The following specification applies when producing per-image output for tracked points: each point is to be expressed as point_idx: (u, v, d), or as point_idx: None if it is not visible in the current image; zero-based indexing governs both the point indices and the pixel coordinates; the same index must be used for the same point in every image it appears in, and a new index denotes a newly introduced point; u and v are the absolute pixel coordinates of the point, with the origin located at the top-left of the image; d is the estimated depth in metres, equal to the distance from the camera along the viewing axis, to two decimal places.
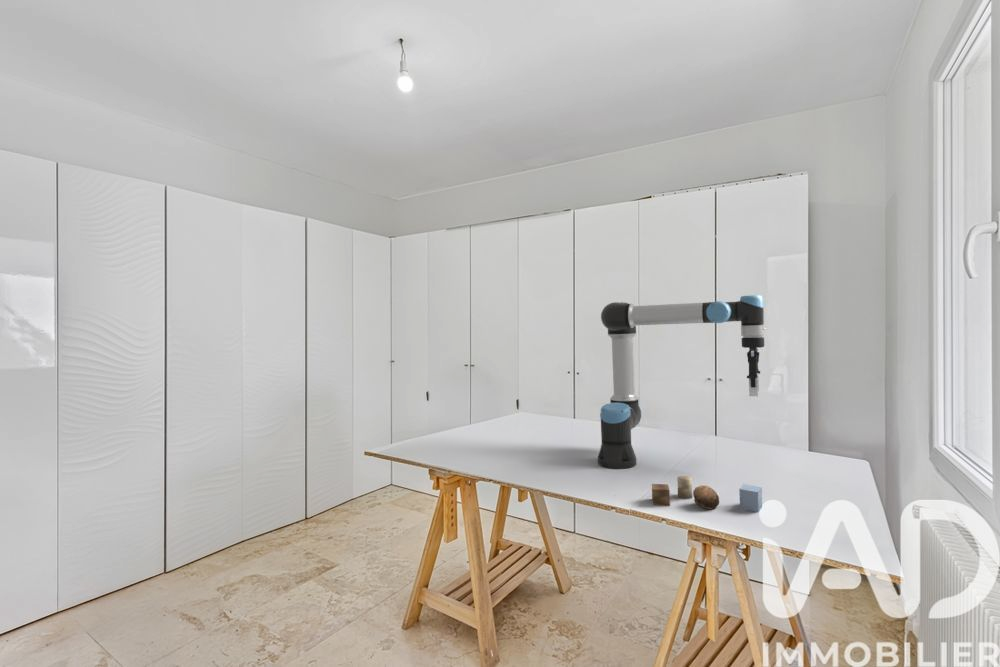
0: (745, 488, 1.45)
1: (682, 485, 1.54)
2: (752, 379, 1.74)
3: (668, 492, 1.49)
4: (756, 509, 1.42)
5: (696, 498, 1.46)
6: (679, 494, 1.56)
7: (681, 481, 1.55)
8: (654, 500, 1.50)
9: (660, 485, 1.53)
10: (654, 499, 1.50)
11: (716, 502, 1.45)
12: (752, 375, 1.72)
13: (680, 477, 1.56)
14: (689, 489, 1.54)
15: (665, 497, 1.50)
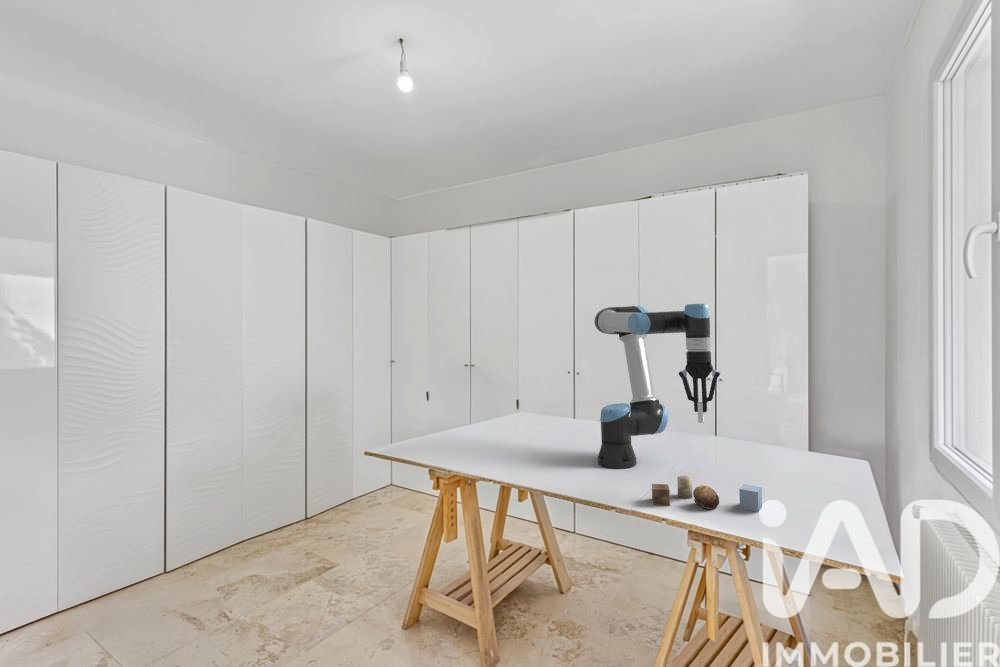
0: (745, 488, 1.45)
1: (682, 485, 1.54)
2: (694, 402, 1.61)
3: (668, 492, 1.49)
4: (756, 509, 1.42)
5: (696, 498, 1.46)
6: (679, 494, 1.56)
7: (681, 481, 1.55)
8: (654, 500, 1.50)
9: (660, 485, 1.53)
10: (654, 499, 1.50)
11: (716, 502, 1.45)
12: None
13: (680, 477, 1.56)
14: (689, 489, 1.54)
15: (665, 497, 1.50)
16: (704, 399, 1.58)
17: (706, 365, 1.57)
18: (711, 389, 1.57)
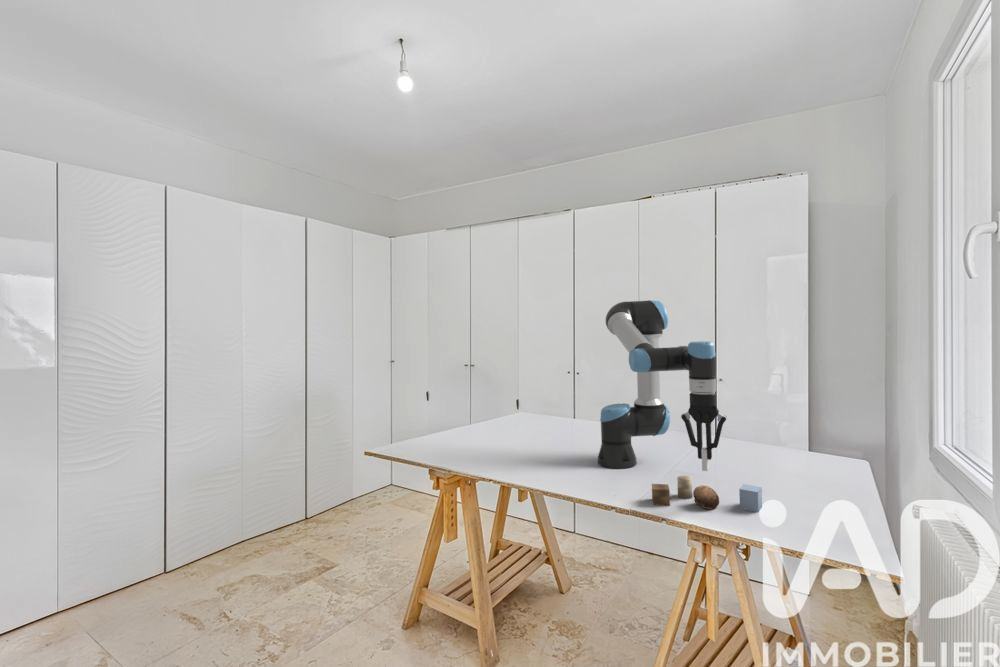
0: (745, 488, 1.45)
1: (682, 485, 1.54)
2: (697, 448, 1.48)
3: (669, 492, 1.49)
4: (756, 509, 1.42)
5: (696, 498, 1.46)
6: (679, 494, 1.56)
7: (681, 481, 1.55)
8: (654, 500, 1.50)
9: (660, 485, 1.53)
10: (654, 499, 1.50)
11: (716, 502, 1.45)
12: None
13: (680, 477, 1.56)
14: (689, 489, 1.54)
15: (665, 497, 1.50)
16: (709, 445, 1.45)
17: (711, 409, 1.45)
18: (716, 435, 1.44)
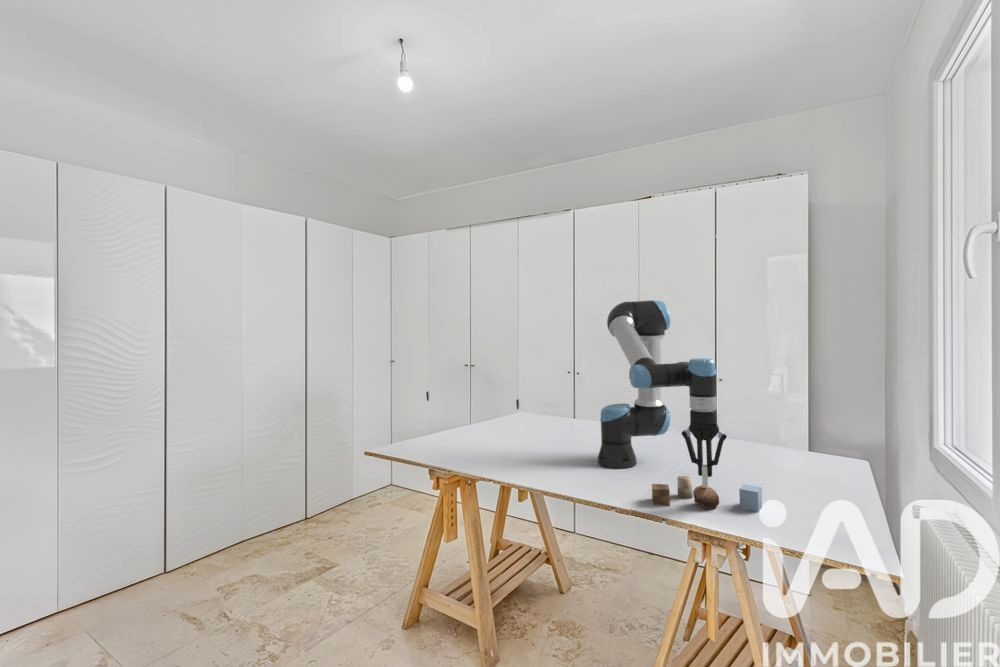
0: (745, 488, 1.45)
1: (682, 485, 1.54)
2: (698, 465, 1.48)
3: (669, 492, 1.49)
4: (756, 509, 1.42)
5: (696, 498, 1.46)
6: (679, 494, 1.56)
7: (681, 481, 1.55)
8: (654, 500, 1.50)
9: (660, 485, 1.53)
10: (654, 499, 1.50)
11: (716, 502, 1.45)
12: None
13: (680, 477, 1.56)
14: (689, 489, 1.54)
15: (665, 497, 1.50)
16: (709, 463, 1.46)
17: (711, 426, 1.45)
18: (717, 452, 1.44)
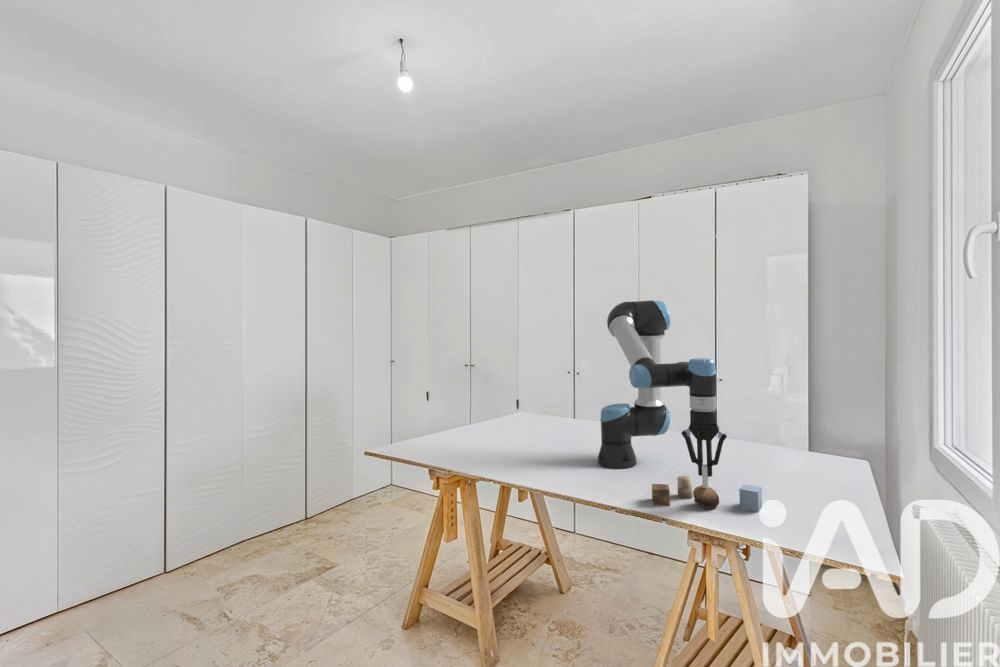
0: (745, 488, 1.45)
1: (682, 485, 1.54)
2: (698, 465, 1.48)
3: (669, 492, 1.49)
4: (756, 509, 1.42)
5: (696, 498, 1.46)
6: (679, 494, 1.56)
7: (681, 481, 1.55)
8: (654, 500, 1.50)
9: (660, 485, 1.53)
10: (654, 499, 1.50)
11: (716, 502, 1.45)
12: None
13: (680, 477, 1.56)
14: (689, 489, 1.54)
15: (665, 497, 1.50)
16: (709, 463, 1.45)
17: (711, 426, 1.45)
18: (717, 452, 1.44)
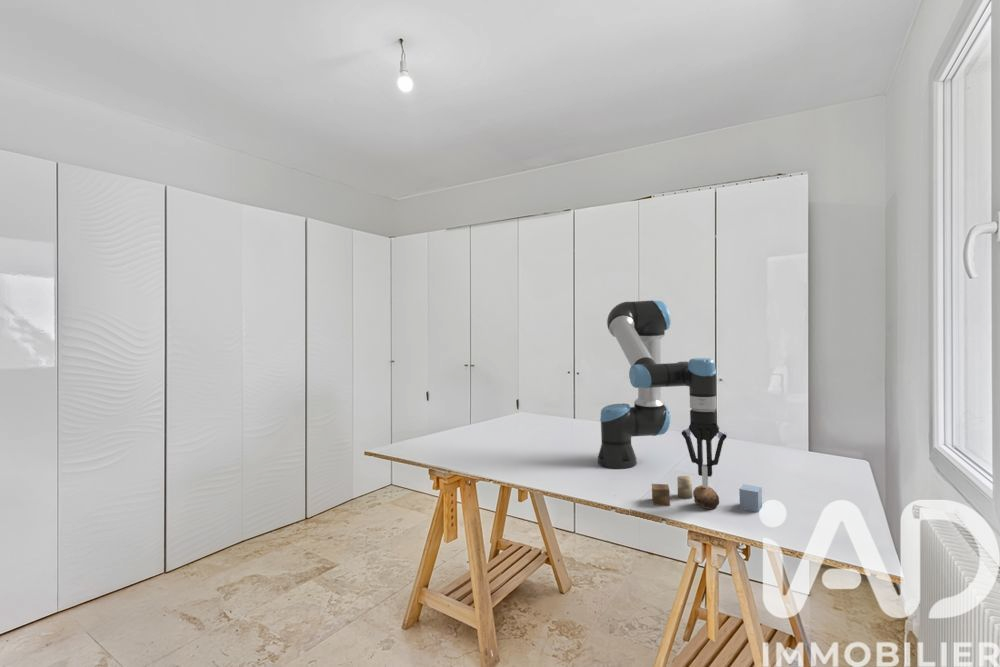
0: (745, 488, 1.45)
1: (682, 485, 1.54)
2: (698, 465, 1.48)
3: (668, 492, 1.49)
4: (756, 509, 1.42)
5: (696, 498, 1.46)
6: (679, 494, 1.56)
7: (681, 481, 1.55)
8: (654, 500, 1.50)
9: (660, 485, 1.53)
10: (654, 499, 1.50)
11: (716, 502, 1.45)
12: None
13: (680, 477, 1.56)
14: (689, 489, 1.54)
15: (665, 497, 1.50)
16: (709, 463, 1.46)
17: (711, 426, 1.45)
18: (717, 452, 1.44)
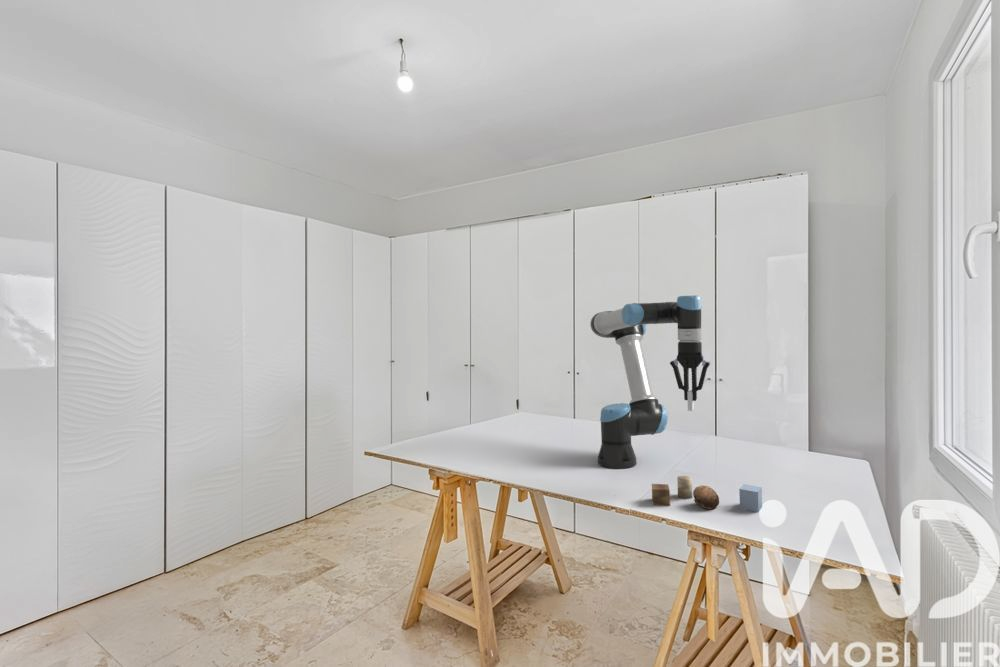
0: (745, 488, 1.45)
1: (682, 485, 1.54)
2: None
3: (669, 492, 1.49)
4: (756, 509, 1.42)
5: (696, 498, 1.46)
6: (679, 494, 1.56)
7: (681, 481, 1.55)
8: (654, 500, 1.50)
9: (660, 485, 1.53)
10: (654, 499, 1.50)
11: (716, 502, 1.45)
12: None
13: (680, 477, 1.56)
14: (689, 489, 1.54)
15: (665, 497, 1.50)
16: (694, 388, 1.63)
17: (696, 355, 1.62)
18: (701, 378, 1.62)
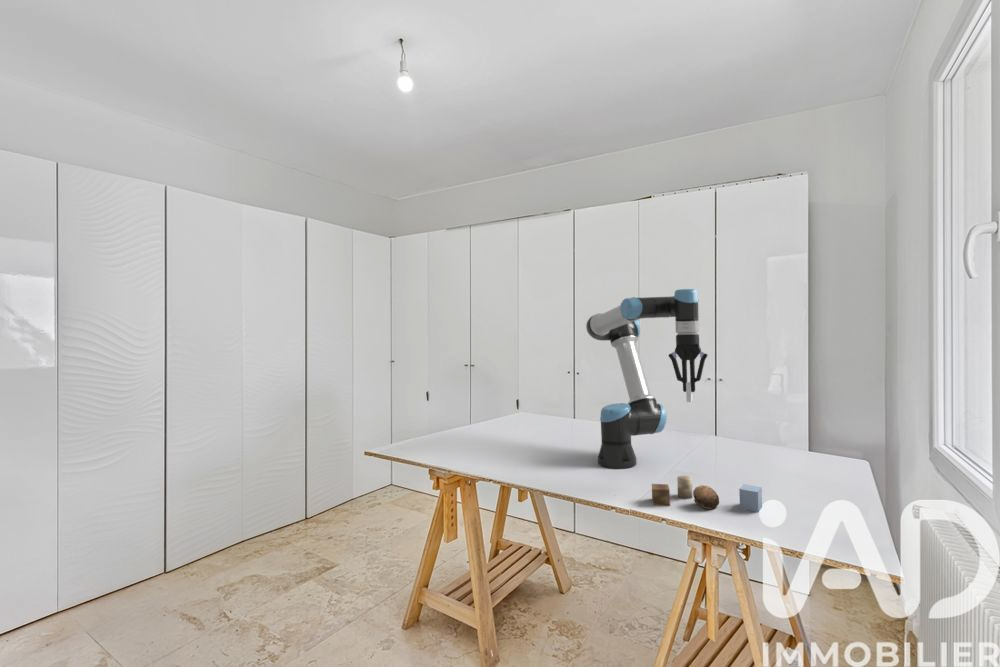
0: (745, 488, 1.45)
1: (682, 485, 1.54)
2: (683, 383, 1.70)
3: (668, 492, 1.49)
4: (756, 509, 1.42)
5: (696, 498, 1.46)
6: (679, 494, 1.56)
7: (681, 481, 1.55)
8: (654, 500, 1.50)
9: (660, 485, 1.53)
10: (654, 499, 1.50)
11: (716, 502, 1.45)
12: None
13: (680, 477, 1.56)
14: (689, 489, 1.54)
15: (665, 497, 1.50)
16: (692, 379, 1.67)
17: (694, 347, 1.66)
18: (699, 370, 1.66)
